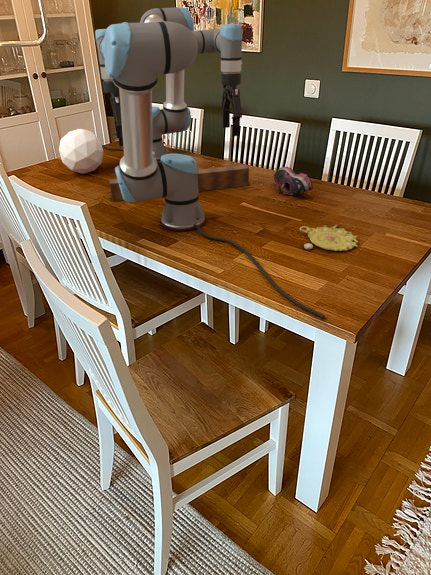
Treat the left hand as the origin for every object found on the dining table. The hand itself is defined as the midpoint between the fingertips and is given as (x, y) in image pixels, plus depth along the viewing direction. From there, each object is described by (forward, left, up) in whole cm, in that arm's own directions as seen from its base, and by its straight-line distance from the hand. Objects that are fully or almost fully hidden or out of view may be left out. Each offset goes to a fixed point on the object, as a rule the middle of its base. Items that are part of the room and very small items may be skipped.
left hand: (231, 131), depth 175 cm
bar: (-10, -19, -22) cm, 31 cm away
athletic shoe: (+23, +8, -22) cm, 33 cm away
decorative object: (+59, -17, -22) cm, 65 cm away
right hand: (-21, -38, 0) cm, 43 cm away
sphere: (-64, -32, -22) cm, 75 cm away
